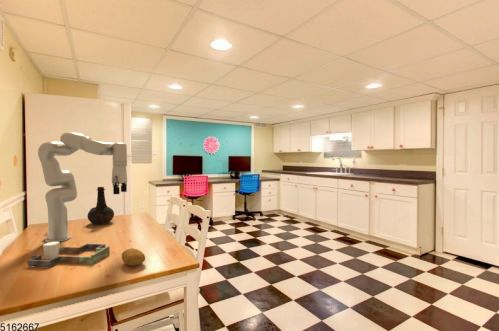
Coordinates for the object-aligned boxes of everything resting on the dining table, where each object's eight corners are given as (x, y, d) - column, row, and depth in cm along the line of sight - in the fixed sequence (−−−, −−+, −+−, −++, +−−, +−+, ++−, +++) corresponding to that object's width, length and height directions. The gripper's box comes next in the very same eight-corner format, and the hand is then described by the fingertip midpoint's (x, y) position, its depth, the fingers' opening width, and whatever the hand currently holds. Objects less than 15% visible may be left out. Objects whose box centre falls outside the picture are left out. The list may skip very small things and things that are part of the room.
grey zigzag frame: (19, 266, 121) (19, 258, 121) (61, 248, 145) (61, 241, 145) (84, 269, 118) (84, 260, 118) (116, 249, 143) (116, 242, 142)
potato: (126, 271, 116) (126, 256, 116) (118, 262, 126) (118, 248, 125) (147, 265, 122) (147, 251, 122) (138, 257, 132) (138, 244, 131)
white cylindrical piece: (49, 254, 136) (48, 241, 136) (63, 254, 136) (62, 240, 136) (39, 259, 129) (39, 245, 129) (54, 259, 130) (53, 245, 129)
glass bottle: (98, 220, 209) (98, 185, 208) (119, 220, 207) (118, 185, 206) (81, 226, 191) (80, 188, 190) (103, 226, 189) (103, 188, 188)
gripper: (119, 163, 161) (120, 191, 162) (105, 164, 144) (106, 195, 144) (132, 163, 161) (132, 190, 162) (119, 164, 144) (120, 195, 145)
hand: (120, 192), depth 153 cm, fingers open, 9 cm apart
